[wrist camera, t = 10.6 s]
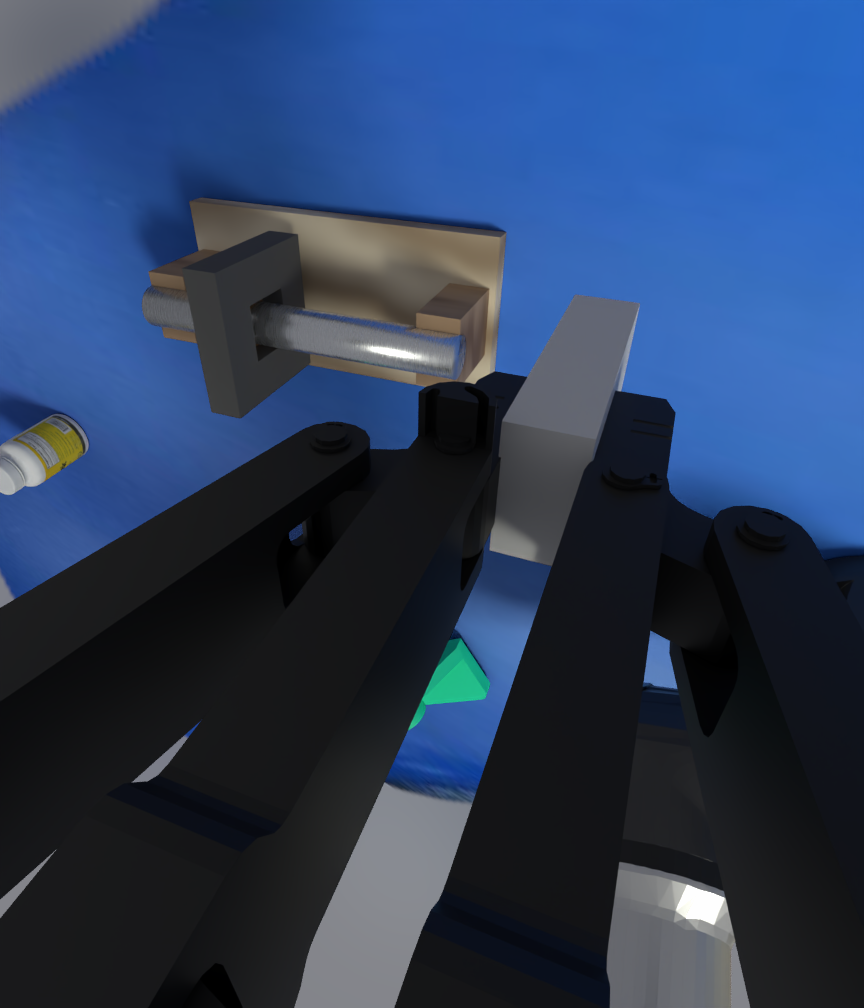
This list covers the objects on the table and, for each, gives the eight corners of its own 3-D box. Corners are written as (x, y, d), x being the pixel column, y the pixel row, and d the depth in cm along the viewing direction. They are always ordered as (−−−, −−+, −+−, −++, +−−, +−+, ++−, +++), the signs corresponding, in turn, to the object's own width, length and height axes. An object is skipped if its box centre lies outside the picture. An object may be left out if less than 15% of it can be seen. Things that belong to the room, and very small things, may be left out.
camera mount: (412, 689, 78) (377, 762, 71) (379, 645, 76) (339, 715, 68) (496, 680, 72) (468, 758, 64) (463, 630, 69) (430, 706, 61)
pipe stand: (493, 390, 52) (461, 437, 45) (227, 341, 58) (168, 377, 52) (506, 232, 44) (471, 263, 38) (201, 197, 51) (130, 219, 45)
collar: (310, 362, 53) (240, 418, 45) (285, 358, 53) (211, 412, 46) (297, 234, 47) (214, 273, 39) (269, 230, 47) (181, 268, 40)
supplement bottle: (68, 455, 76) (-3, 501, 69) (42, 414, 73) (-35, 457, 66) (99, 452, 74) (28, 499, 66) (73, 410, 71) (-3, 454, 64)
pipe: (465, 370, 44) (449, 390, 42) (175, 319, 51) (146, 334, 48) (467, 323, 42) (451, 342, 40) (166, 276, 49) (135, 290, 46)
